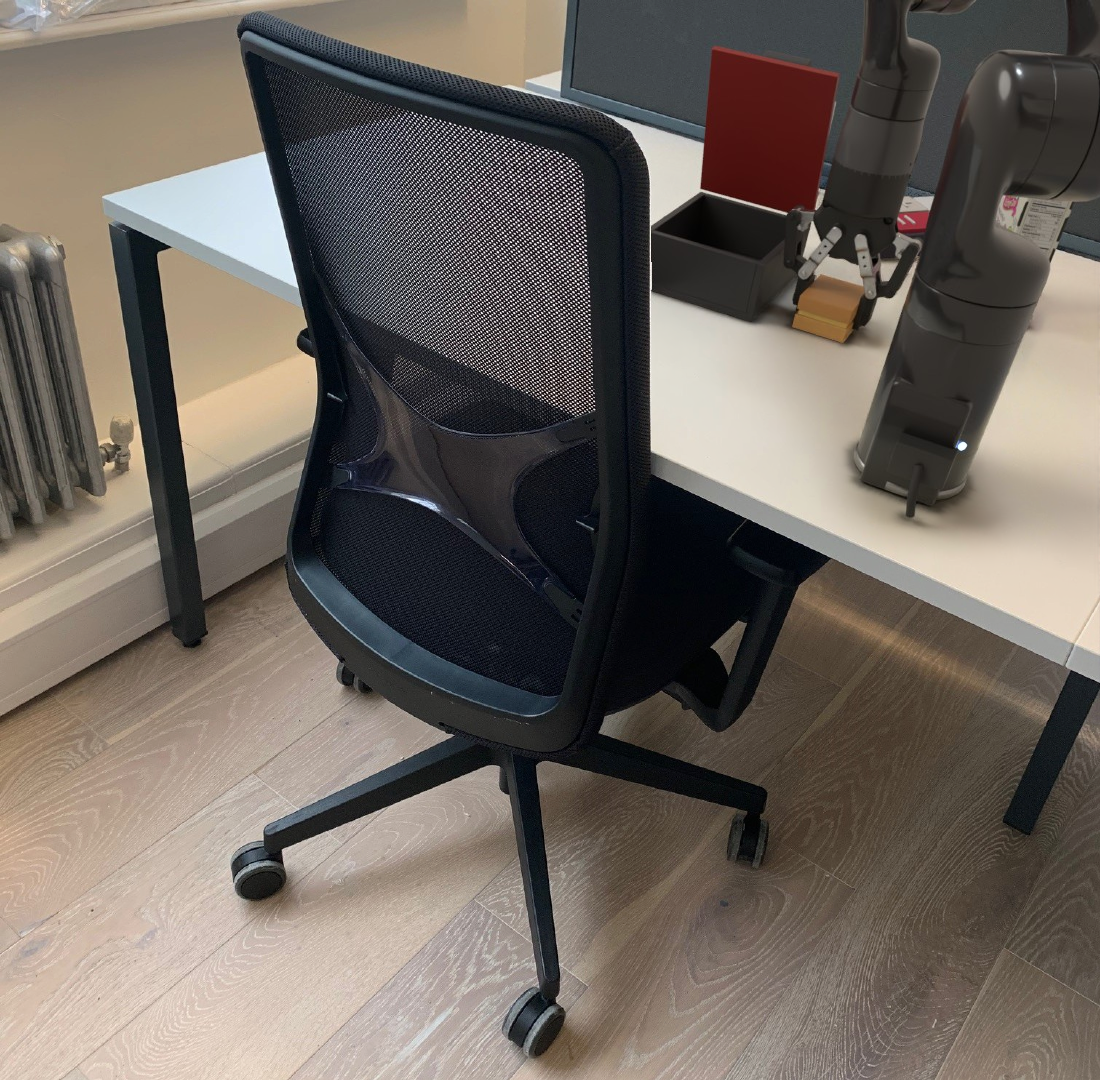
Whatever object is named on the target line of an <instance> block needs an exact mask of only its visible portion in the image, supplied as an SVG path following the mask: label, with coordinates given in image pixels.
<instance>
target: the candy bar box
mask: <svg viewBox="0 0 1100 1080" xmlns="http://www.w3.org/2000/svg"><path fill="white" fill-rule="evenodd" d="M1074 206H1075V202H1070V201H1057V200H1046V199H1035V198H1025V197H1015V196H1005V195H1002V197H1001V200H1000V203H999V207H998V212H997V216H996V222H998V223H999V224H1000V225H1002V226H1004V227H1006V228H1007V229H1009V230H1011V231H1013V232H1015V233H1017V234H1019V235H1021V236H1023V237H1025V238H1027V239H1029V240H1030V241H1032V242H1033V243H1035V244H1036V245H1037V246H1038V247H1040V248H1041V249H1042V250H1043V251H1044V253H1045V254H1046V255H1047V256H1048V258H1049V261H1050V264H1051V263H1052V261H1053V257H1054V255H1055V253H1056V251H1057V248H1058V246H1059V243H1060V240H1061V238H1062V236H1063V234H1064V231H1065V228H1066V225H1067V223H1068V221H1069V217H1070V215H1071V213H1072V210H1073V208H1074Z"/></svg>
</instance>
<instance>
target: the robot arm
mask: <svg viewBox="0 0 1100 1080" xmlns="http://www.w3.org/2000/svg"><path fill="white" fill-rule="evenodd" d="M976 1H977V0H863V23H862V24H863V26H862V45H861V46H862V47H861V58H860V59H861V60H860V65H859V68H858V70H857V71H858V72H857V76H856V79H855V84H854V88H853V90H852V95H851V99H850V103H849V106H848V109H847V112H846V115H845V118H844V119H843V121H842V125H841V127H840V131H839V135H838V138H837V141H836V146H835V150H834V155H833V158H832V160H831V161H832V162H831V166H830V169H829V174H828V177H827V178H828V179H827V182H826V185H825V188H824V192H823V196H822V201H821V203H820V205H819V207H817V208H816V209H815V210H809V209H805V208H804V207H803V206H802V205H797V206H795V207H794V208H793V209H792V210H791V211H790V212H789V213H786V214H785V215H786V228H785V244H784V259H783V264H784V266H785V267H786V268H787V269H792V270H793V271H795V272H796V274H797V276H796V277H797V279H796V283H795V287H794V292H793V295H792V299H791V300H792V305H793V306H796V307H795V312H796V313H797V312H798V311H799V309H797V306H798V302H799V299H800V295H801V294H802V293H803V292H804V291H805V290H806V289H807V288H808V287H809V286H810V285H811V284H812V283H813V282H814V281H815V280H816V278H817V277H816V276H817V275H816V274H814V273H815V272H816V270H817V269H818V267H819V266H820V265H821V264H822V263H823V261H824V260H825V259H826V258H827V257H828V258H830V259H835V260H844V261H846V262H848V263H850V264H851V265H852V264H853V265H856V266H858V270H859V276H860V278H861V280H862V286H863V287H864V294H863V295H862V296H861V298H860V301H859V306H858V309H857V313H856V316H855V318H854V323H853V326H852V329H854V330H855V331H860V330H861V328H862V327H864V328H865V327H866V326H867V325H868V324H869V322H870V321H871V319H872V318H873V315H874V311H875V307H876V305H877V301H878V299H879V298H886V299H893V298H894V297H895V296H896V294H897V293H898V291H899V290H900V289H901V288H902V286H903V284H904V282H905V280H906V279H907V277H908V275H909V273H910V271H911V269H912V267H913V265H914V264H915V261H916V259H917V258H918V259H917V262H916V265H915V269H914V272H913V275H912V278H911V281H910V284H909V287H908V290H907V293H906V296H905V300H904V303H903V306H902V309H901V310H900V311H901V312H900V315H899V317H898V320H897V324H896V327H895V329H894V333H893V336H892V339H891V342H890V345H889V348H888V351H887V354H886V357H885V361H884V363H883V366H882V370H881V373H880V376H879V378H878V382H877V385H876V388H875V391H874V394H873V397H872V401H871V403H870V406H869V410H868V412H867V416H866V419H865V423H864V426H863V428H862V431H861V434H860V437H859V440H858V442H857V443H856V446H855V449H854V452H853V461H854V464H855V467H857V469H858V471H859V472H860V473H861V474H860V477H859V480H860V481H861V482H862V483H865V484H868V485H871V486H874V487H876V488H879V489H882V490H885V491H888V492H889V493H893V494H896V495H898V496H901V497H905V498H907V499H906V506H905V516H906V517H907V518H910V519H911V518H914V517H915V514H916V507H917V502H918V503H921V504H924V505H927V506H930V507H932V506H934V504H935V502H936V501H937V500H938V501H939V500H945V499H949V498H952V497H954V496H956V495H958V494H959V493H960V492H962V491H963V489H964V487H965V485H966V482H967V480H968V476H969V471H970V469H971V466H972V465H973V462H974V459H975V457H976V456H977V452H978V450H979V447H980V445H981V442H982V441H983V437H984V435H985V432H986V430H987V427H988V425H989V423H990V420H991V417H992V415H993V412H994V411H995V408H996V405H997V403H998V400H999V398H1000V396H1001V394H1002V391H1003V389H1004V386H1005V384H1006V381H1007V378H1008V376H1009V373H1010V372H1011V371H1010V370H1011V368H1012V366H1013V365H1014V361H1015V359H1016V356H1017V355H1018V352H1019V349H1020V347H1021V344H1022V342H1023V339H1024V337H1025V335H1026V332H1027V331H1028V328H1029V326H1030V323H1031V321H1032V318H1033V316H1034V314H1035V311H1036V309H1037V306H1038V303H1039V302H1040V299H1041V296H1042V295H1043V291H1044V290H1045V287H1046V284H1047V282H1048V278H1049V275H1050V272H1051V263H1050V261H1049V258H1048V256H1047V255H1046V254H1045V253H1044V251H1043V250H1042V249H1041V248H1040V247H1038V246H1037V245H1036V244H1035V243H1033V242H1032V241H1030V240H1029V239H1027V238H1025V237H1023V236H1021V235H1019V234H1017V233H1015V232H1013V231H1011V230H1009V229H1007V228H1006V227H1004V226H1002V225H1000V224H999V223H998V222H996V216H997V212H998V207H999V204H1000V201H1001V198H1002V196H1003V195H1005V196H1015V197H1025V198H1035V199H1046V200H1057V201H1070V202H1074V203H1078V202H1089V201H1093V200H1096V199H1098V198H1100V0H1063V2H1064V11H1065V19H1066V20H1065V21H1066V22H1065V23H1066V50H1065V54H1062V53H1061V54H1059V53H1050V52H1039V51H1033V50H1032V51H1031V50H1022V49H1002V50H1001V49H1000V50H997V51H994V52H991V54H989V55H987V56H986V57H985V58H984V59H983V60H982V61H981V62H980V63H979V64H978V65H977V67H976V68H975V70H974V71H973V73H972V75H971V76H970V78H969V80H968V82H967V84H966V86H965V88H964V91H963V94H962V95H961V99H960V101H959V104H958V107H957V110H956V114H955V117H954V121H953V124H952V129H951V132H950V136H949V139H948V143H947V148H946V151H945V155H944V159H943V163H942V167H941V170H940V175H939V178H938V182H937V184H936V185H937V186H936V188H935V192H934V195H933V196H934V198H933V202H932V205H931V208H930V212H929V216H928V220H927V224H926V229H925V234H924V240H922V239H921V238H918V237H916V238H914V239H912V238H910V237H907V236H905V235H903V234H901V233H899V229H898V224H897V219H898V215H899V212H900V208H901V205H902V202H903V199H904V196H906V192H907V188H908V185H909V181H910V178H911V176H912V172H913V169H914V166H915V165H916V162H917V160H918V155H919V153H918V152H919V149H920V145H921V142H922V138H923V130H924V124H925V120H926V116H927V112H928V110H929V106H930V102H931V99H932V96H933V93H934V90H935V86H936V84H937V81H938V77H939V74H940V69H941V64H942V63H941V61H942V60H941V59H942V57H941V54H940V52H939V50H938V49H937V48H936V47H934V46H933V45H931V44H929V43H927V42H924V41H922V40H919V39H916V38H913V37H910V36H909V35H908V31H907V30H908V29H907V18H908V14H909V13H915V14H916V13H917V14H933V15H956V14H960V13H962V12H965V11H966V10H967V9H969V8H970V7H972V5H973V4H974V3H975V2H976ZM810 222H813V225H814V227H815V231H816V232H817V236H818V238H819V241H820V242H819V244H818V245H817V247H815V250H814V251H812V253H811V254H810V255H809V257H808V258H806V257H804V255H803V256H802V247H803V233H804V231H805V230H806V229H807V228H808V227H809V225H810ZM892 243H893V244H894V245H895V246H896V252H895V256H896V258H895V259H897V260H898V262H897V264H896V266H895V268H894V269H893V271H892V274H891V276H890V277H889V280H883V278H882V271H881V269H882V261H881V260H882V259H880V252H881V251H883V250H884V249H885V248H887V247H888V246H889V245H891V244H892ZM921 248H922V249H921ZM920 250H921V253H920V256H919V257H917V256H918V254H919V252H920Z"/></svg>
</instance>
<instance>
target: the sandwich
mask: <svg viewBox="0 0 1100 1080" xmlns="http://www.w3.org/2000/svg"><path fill="white" fill-rule="evenodd" d="M863 294H864V287H863V285H860V284H856V283H853V282H849V281H847V280H842V279H839V278H837V277H832V276H829V275H825V274H822V273H820V274H819V275H818V276H817V277H815V280H814V282H813V283H812V284H811V285H810V286H809V287H808V288H807V289H806V290H805V291H804V292H803V293H802V294H801V295H800V299H799V302H798V306H797V309H799V311H798V312H797V311H796V313H794V318H793V322H792V328H794V329H797V330H800V331H804V332H806V333H809V334H813V335H816V336H819V337H821V338H825V339H829V340H832V341H834V342H839V343H842V344H844V343H845V341H846V340H847V339H848V338H849V336H851V334H852V332H854V330H855V329H852V326H853V323H854V318H855V316H856V313H857V309H858V306H859V301H860V298H861V296H862V295H863Z"/></svg>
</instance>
